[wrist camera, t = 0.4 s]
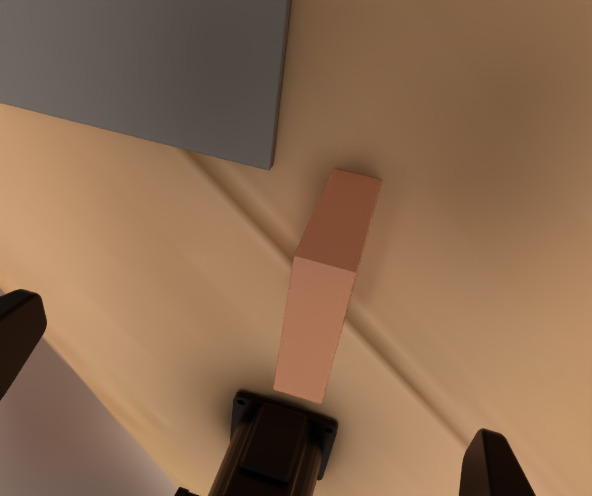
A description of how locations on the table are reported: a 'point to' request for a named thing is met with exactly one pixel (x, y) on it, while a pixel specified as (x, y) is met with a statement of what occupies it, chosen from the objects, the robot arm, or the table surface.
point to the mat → (152, 69)
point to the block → (324, 283)
